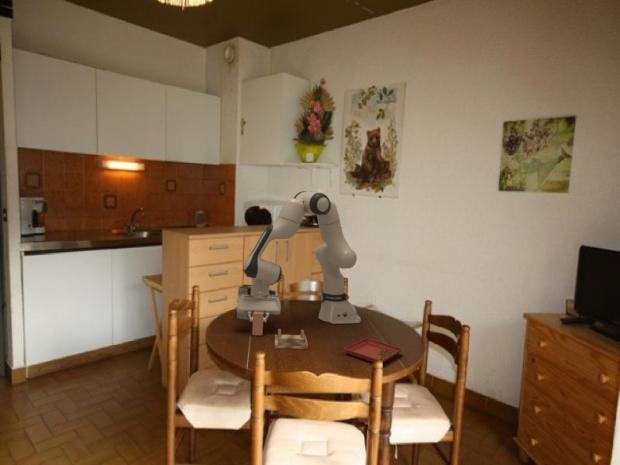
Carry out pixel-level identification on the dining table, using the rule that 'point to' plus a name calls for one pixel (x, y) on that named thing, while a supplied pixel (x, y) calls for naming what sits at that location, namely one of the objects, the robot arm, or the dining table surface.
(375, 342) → the plant saucer
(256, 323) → the pinkish brown block
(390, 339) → the dining table surface
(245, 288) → the coffee box
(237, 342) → the dining table surface
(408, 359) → the dining table surface
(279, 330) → the rack
